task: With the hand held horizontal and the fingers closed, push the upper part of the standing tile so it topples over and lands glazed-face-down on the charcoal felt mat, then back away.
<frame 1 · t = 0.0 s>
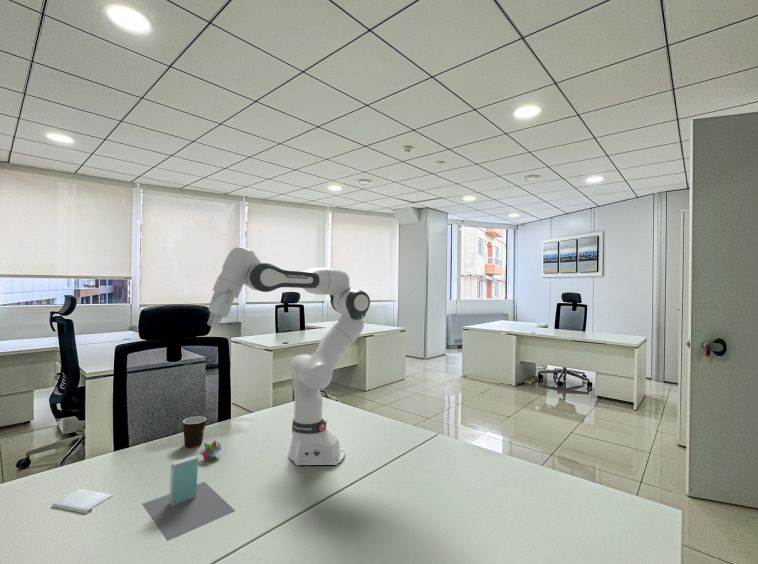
hand: (211, 326, 125), 52 cm above the table, tool tilted 20°, fingers open, 8 cm apart
geometric puzzle: (209, 460, 136), on the table
tile: (182, 499, 110), point 1 cm above the table, touching mat
mat: (188, 509, 106), on the table
coffee mug: (195, 443, 150), on the table
hard drive: (83, 504, 107), on the table
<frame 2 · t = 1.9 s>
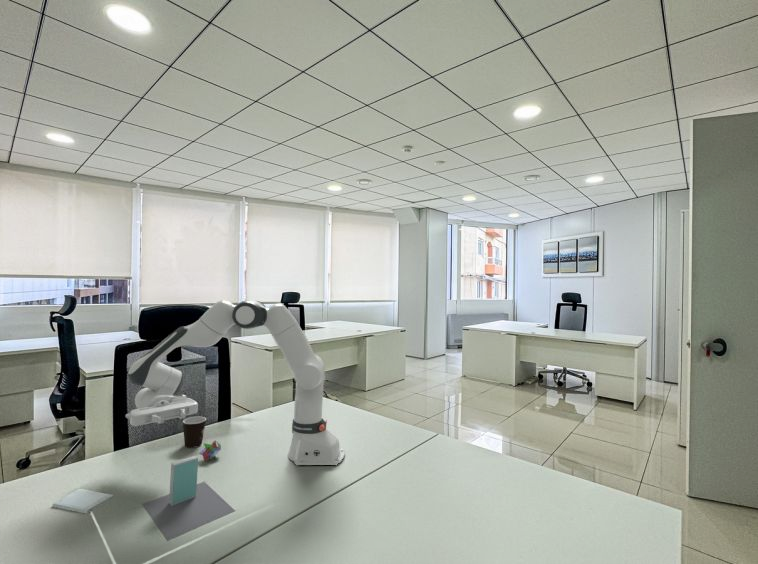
hand: (172, 418, 118), 22 cm above the table, tool horizontal, fingers open, 5 cm apart
nothing on the table moved.
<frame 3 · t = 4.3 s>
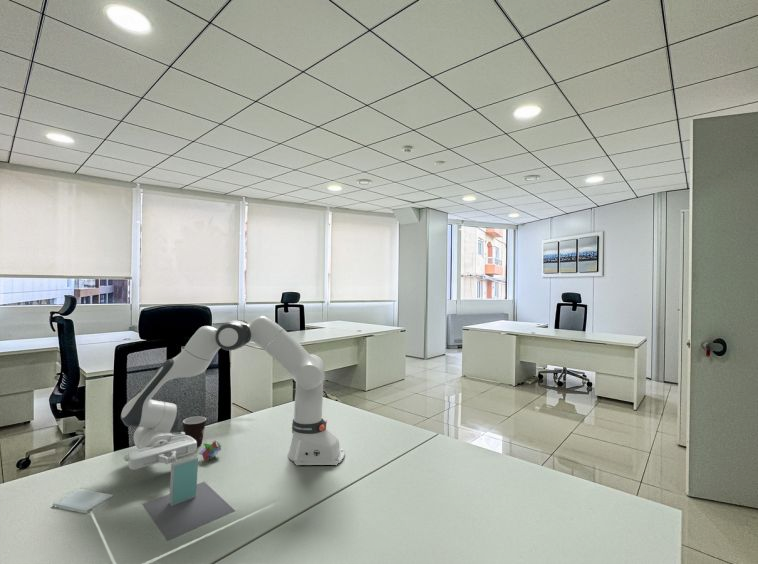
hand: (171, 460, 117), 9 cm above the table, tool horizontal, fingers closed
nothing on the table moved.
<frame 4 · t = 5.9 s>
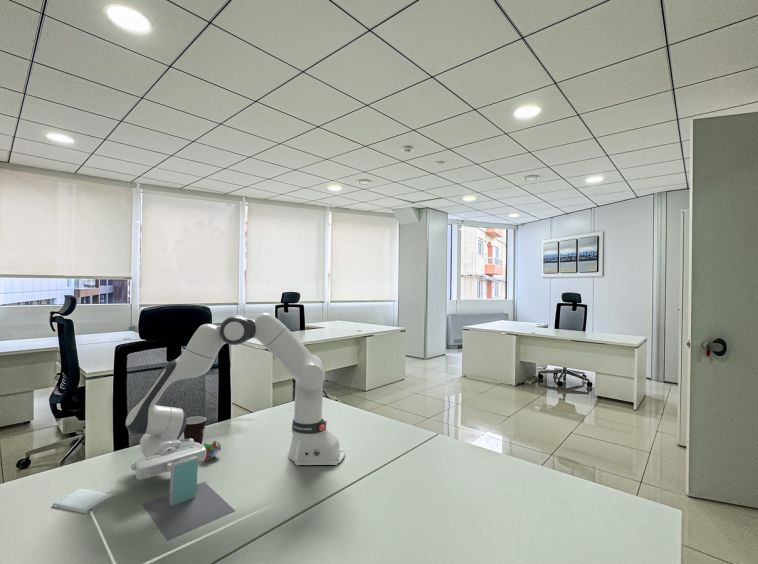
hand: (180, 469, 112), 8 cm above the table, tool horizontal, fingers closed
nothing on the table moved.
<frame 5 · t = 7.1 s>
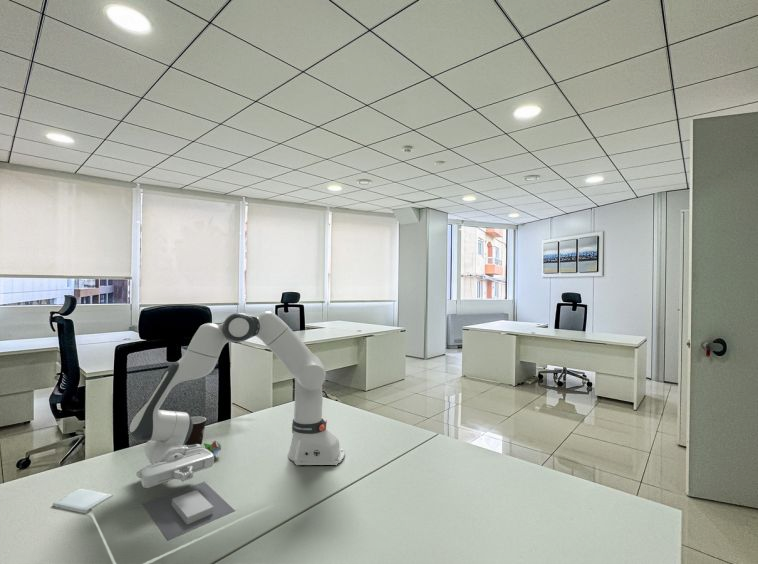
hand: (188, 477, 108), 9 cm above the table, tool horizontal, fingers closed
tile: (184, 497, 109), point 2 cm above the table, tilted 90°, touching mat
everything else where it was.
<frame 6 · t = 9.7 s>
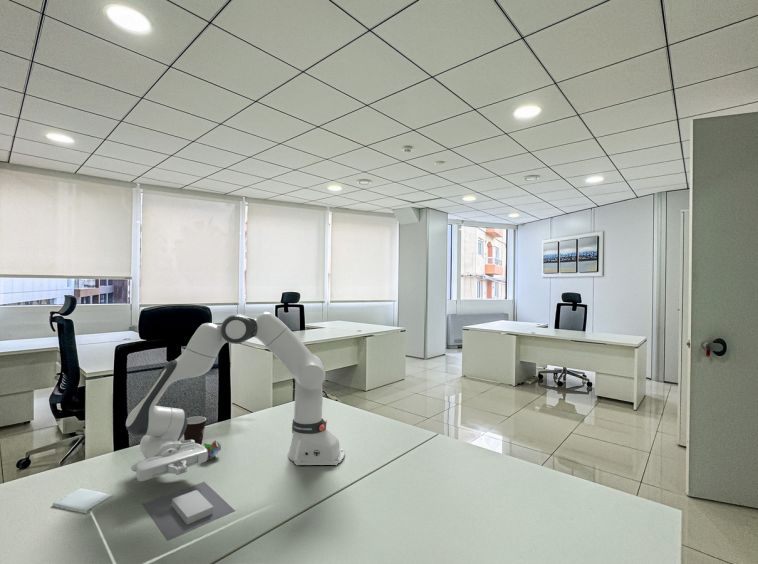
hand: (181, 471, 111), 9 cm above the table, tool horizontal, fingers closed
nothing on the table moved.
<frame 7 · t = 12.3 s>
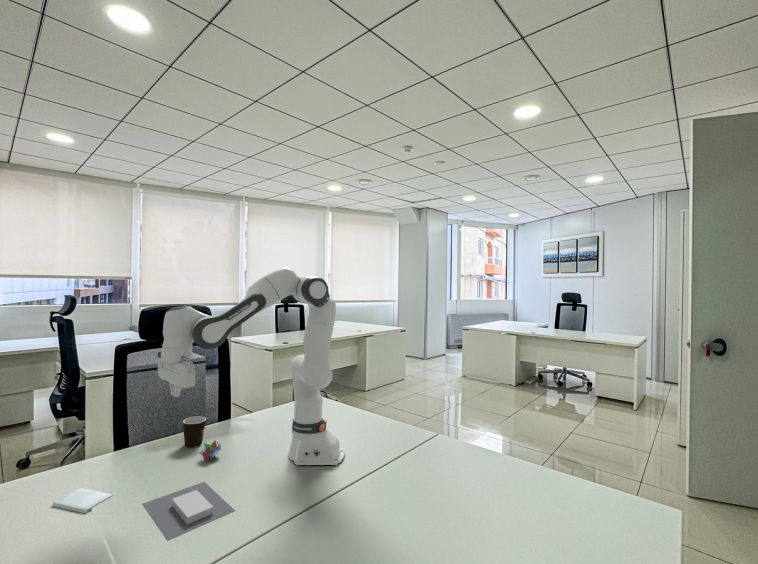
hand: (175, 396, 120), 29 cm above the table, tool pointing down, fingers closed
nothing on the table moved.
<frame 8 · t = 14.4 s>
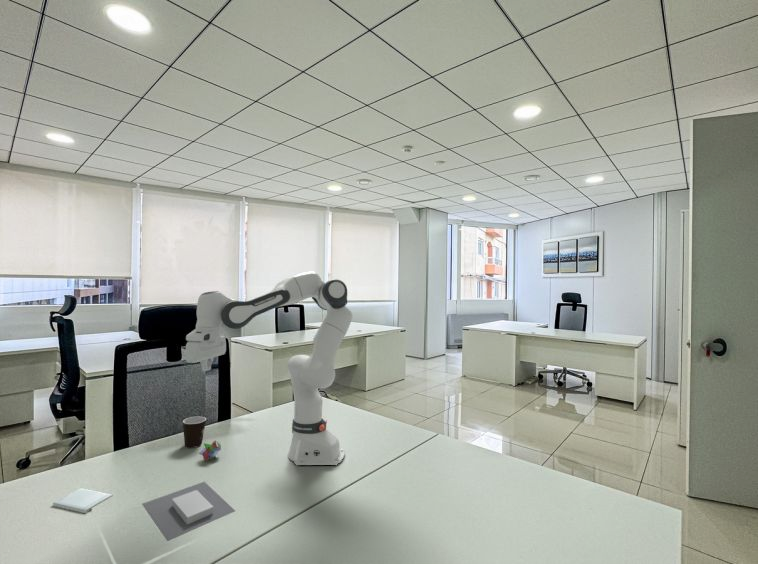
hand: (206, 370, 135), 34 cm above the table, tool pointing down, fingers closed
nothing on the table moved.
at the end: tile tilted 90°; tile 3.8 cm from the mat (horizontally); tile point 1.7 cm above the table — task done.
